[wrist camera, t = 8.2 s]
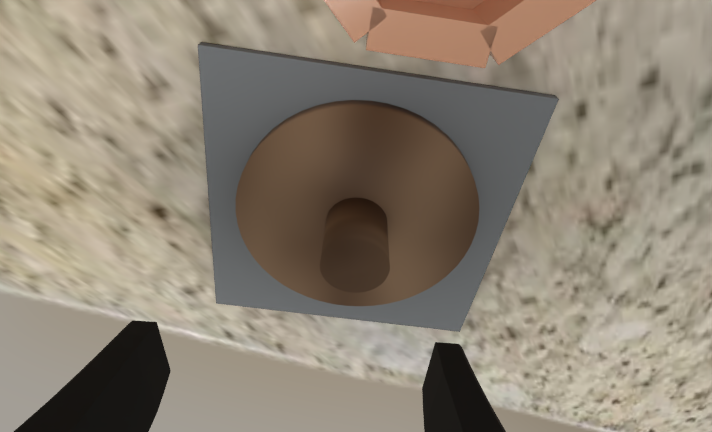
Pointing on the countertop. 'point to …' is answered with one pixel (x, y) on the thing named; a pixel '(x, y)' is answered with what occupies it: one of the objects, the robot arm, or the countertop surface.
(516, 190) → the mat
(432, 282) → the lid
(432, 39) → the bowl
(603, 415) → the countertop surface
